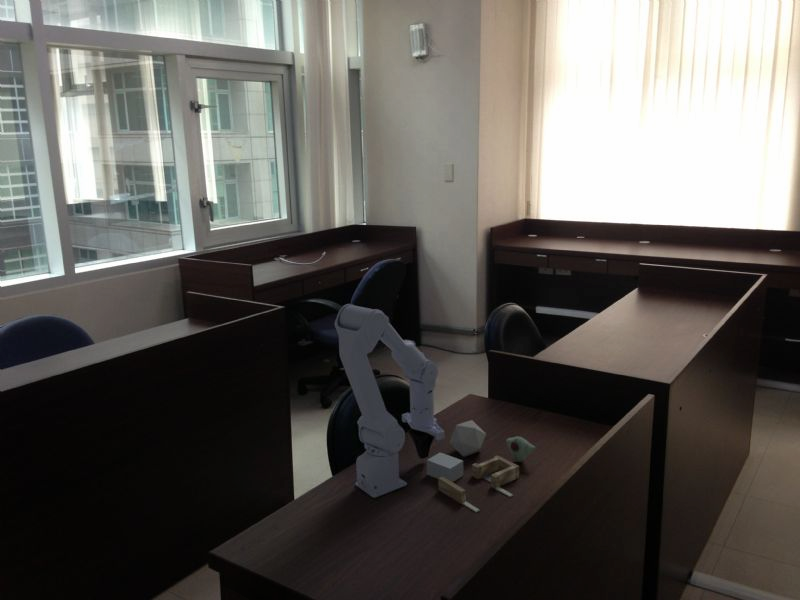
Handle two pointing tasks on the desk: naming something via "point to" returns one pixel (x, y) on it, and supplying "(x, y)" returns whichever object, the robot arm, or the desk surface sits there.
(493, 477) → the channel
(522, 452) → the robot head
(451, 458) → the grey block
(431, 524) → the desk surface
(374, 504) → the desk surface
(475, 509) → the rails
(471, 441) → the die
